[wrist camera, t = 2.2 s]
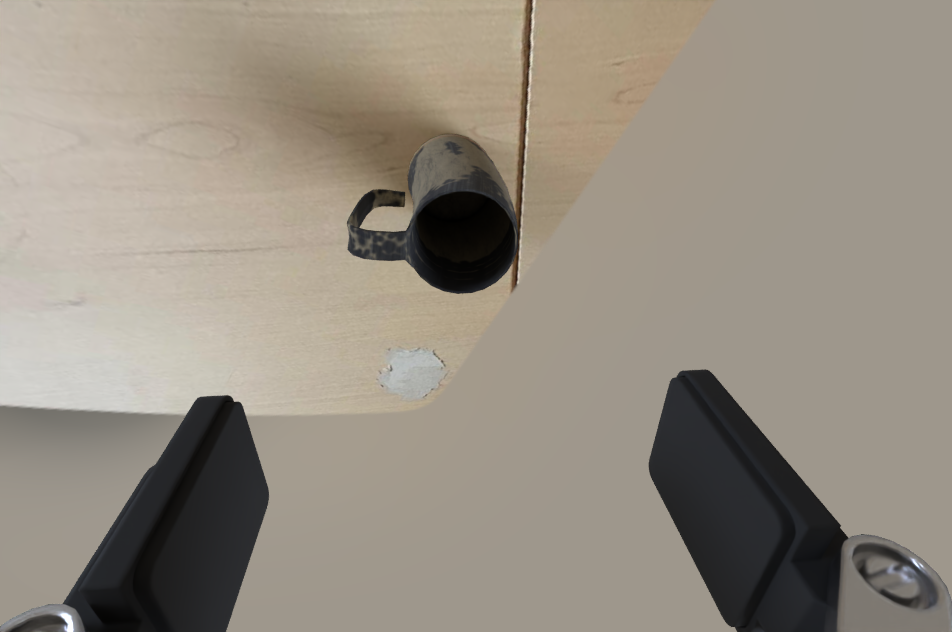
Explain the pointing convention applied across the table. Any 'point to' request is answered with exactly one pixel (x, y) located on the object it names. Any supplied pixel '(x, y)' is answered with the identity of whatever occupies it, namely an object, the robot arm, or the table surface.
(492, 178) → the mug
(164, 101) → the table surface
